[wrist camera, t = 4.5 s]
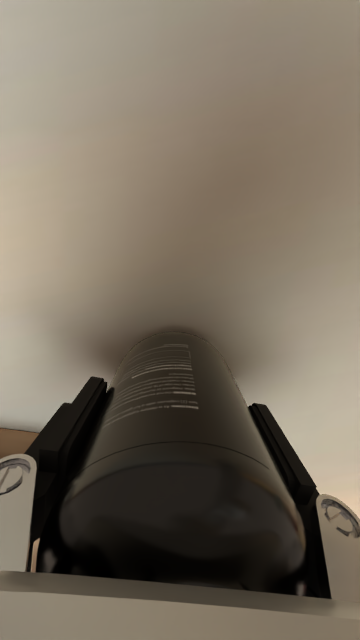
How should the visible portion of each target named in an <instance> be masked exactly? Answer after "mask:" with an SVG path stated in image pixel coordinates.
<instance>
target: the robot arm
mask: <svg viewBox="0 0 360 640" xmlns="http://www.w3.org/2000/svg"><path fill="white" fill-rule="evenodd" d="M106 390H107V382H104V379H103V378H98V377H90V379H89V380H88V382H87V383H86V384H85V386H84V387H83V389H82V390H81V391H80V393H79V394H78V395H77V397H76V398H75V400H74V401H73V402H72V404H71V403H63V404H62V405H61V407H60V408H59V409H58V410H57V412H56V413H55V414H54V416H53V417H52V418H51V419H50V421H49V422H48V423H47V425H46V426H45V427H44V428H43V430H42V431H41V432H40V434H39V435H38V436H37V437H36V439H35V440H34V441H33V443H32V444H31V445H30V446H29V448H28V449H27V450H26V452H25V453H24V454H14V455H10V456H7V457H3V458H1V459H0V640H360V519H359V518H358V517H357V515H356V514H355V513H354V512H353V511H352V510H351V509H350V508H349V507H348V506H347V505H345V504H344V503H343V502H342V501H340V500H338V499H337V498H335V497H333V496H330V495H326V494H322V495H320V494H319V493H318V491H317V490H316V487H317V486H316V485H315V483H314V482H313V480H312V478H311V477H310V475H309V474H308V472H307V470H306V469H305V467H304V466H303V464H302V462H301V461H300V459H299V457H298V456H297V454H296V453H295V451H294V449H293V448H292V446H291V445H290V443H289V441H288V440H287V438H286V437H285V435H284V433H283V432H282V430H281V428H280V427H279V425H278V424H277V422H276V420H275V419H274V417H273V416H272V414H271V412H270V411H269V409H268V408H267V406H266V405H263V404H257V403H253V404H252V406H249V407H248V408H249V410H250V412H251V414H252V416H253V418H254V420H255V422H256V424H257V426H258V428H259V430H260V432H261V434H262V436H263V438H264V440H265V442H266V444H267V446H268V448H269V450H270V452H271V454H272V456H273V458H274V460H275V462H276V464H277V466H278V468H279V470H280V472H281V474H282V476H283V478H284V480H285V482H286V484H287V486H288V488H289V491H290V493H291V495H292V497H293V500H294V502H295V504H296V506H297V508H298V510H299V513H300V515H301V517H302V520H303V524H304V527H305V531H306V535H307V541H308V549H309V582H308V588H307V593H306V597H305V596H295V595H285V594H275V593H265V592H255V591H245V590H234V589H224V588H213V587H203V586H192V585H181V584H170V583H159V582H148V581H137V580H125V579H113V578H102V577H90V576H79V575H67V574H51V573H35V572H32V563H33V552H34V542H35V541H36V540H38V539H39V538H40V536H41V532H42V530H43V527H44V525H45V522H46V520H47V517H48V515H49V513H50V510H51V508H52V506H53V503H54V501H55V499H56V497H57V495H58V492H59V490H60V488H61V486H62V484H63V482H64V480H65V478H66V476H67V474H68V472H69V470H70V467H71V465H72V463H73V461H74V459H75V457H76V455H77V453H78V451H79V449H80V447H81V445H82V443H83V441H84V438H85V436H86V434H87V432H88V430H89V428H90V426H91V424H92V422H93V420H94V418H95V416H96V414H97V412H98V409H99V407H100V405H101V403H102V401H103V399H104V397H105V395H106Z"/></svg>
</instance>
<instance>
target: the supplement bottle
mask: <svg viewBox="0 0 360 640" xmlns="http://www.w3.org/2000/svg"><path fill="white" fill-rule="evenodd" d="M36 573H51V574H67V575H79V576H90V577H102V578H113V579H125V580H137V581H148V582H159V583H170V584H181V585H192V586H203V587H213V588H224V589H234V590H245V591H255V592H265V593H275V594H285V595H295V596H305V597H306V593H307V588H308V582H309V549H308V541H307V535H306V531H305V527H304V524H303V520H302V517H301V515H300V513H299V510H298V508H297V506H296V504H295V502H294V500H293V497H292V495H291V493H290V491H289V488H288V486H287V484H286V482H285V480H284V478H283V476H282V474H281V472H280V470H279V468H278V466H277V464H276V462H275V460H274V458H273V456H272V454H271V452H270V450H269V448H268V446H267V444H266V442H265V440H264V438H263V436H262V434H261V432H260V430H259V428H258V426H257V424H256V422H255V420H254V418H253V416H252V414H251V412H250V410H249V408H248V406H247V404H246V402H245V400H244V398H243V396H242V394H241V392H240V390H239V388H238V386H237V384H236V382H235V380H234V378H233V376H232V374H231V372H230V370H229V368H228V366H227V364H226V363H225V361H224V359H223V357H222V356H221V355H220V353H219V352H218V351H217V350H216V349H215V348H214V347H213V346H212V345H211V344H210V343H208V342H207V341H205V340H203V339H201V338H199V337H197V336H195V335H191V334H188V333H182V332H166V333H160V334H156V335H153V336H151V337H148V338H146V339H144V340H143V341H141V342H139V343H138V344H137V345H135V346H134V347H133V348H132V349H131V350H130V351H129V352H128V354H127V355H126V356H125V358H124V359H123V361H122V363H121V365H120V366H119V368H118V370H117V372H116V374H115V376H114V378H113V380H112V383H111V385H110V387H109V389H108V391H107V393H106V395H105V397H104V399H103V401H102V403H101V405H100V407H99V409H98V412H97V414H96V416H95V418H94V420H93V422H92V424H91V426H90V428H89V430H88V432H87V434H86V436H85V438H84V441H83V443H82V445H81V447H80V449H79V451H78V453H77V455H76V457H75V459H74V461H73V463H72V465H71V467H70V470H69V472H68V474H67V476H66V478H65V480H64V482H63V484H62V486H61V488H60V490H59V492H58V495H57V497H56V499H55V501H54V503H53V506H52V508H51V510H50V513H49V515H48V517H47V520H46V522H45V525H44V527H43V530H42V532H41V536H40V540H39V544H38V550H37V558H36Z"/></svg>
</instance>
